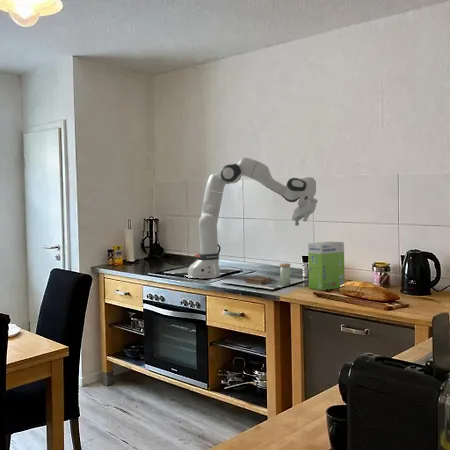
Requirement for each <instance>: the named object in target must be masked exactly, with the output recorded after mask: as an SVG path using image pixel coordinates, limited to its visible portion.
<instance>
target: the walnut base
mask: <svg viewBox="0 0 450 450" xmlns="http://www.w3.org/2000/svg"><path fill="white" fill-rule="evenodd" d="M271 281H272V279H271V277H266V276H259V275H256V276H251V277H246V278H245V283H246V284H253V285H259V284H261V285H264V284H268V283H271Z"/></svg>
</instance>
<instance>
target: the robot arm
mask: <svg viewBox="0 0 450 450" xmlns="http://www.w3.org/2000/svg"><path fill="white" fill-rule="evenodd" d="M242 176H243V177H248V178H250V179H252V180H254V181H256V182H258V183H259V184H261V185H262V186H264V187H266V188H267V189H269V190H271V191H273V192H274V193H276V194H278V195H280V196H281V197H282V198H284V199H285V201H287V203H288V202H289V203H295V202H297V207H296V208H294V211H293V213H292V216H291V219H292V221H294V222H295V223H294V225H295V226H296V227H298V226H299V224H300V223H299V221H300V220H302V219H303V222H307V221H308V219H309V217H310V215H312V214H313V213H314V212H315V210H316V207H317V204H318V202H319V200H318V199H317V198H315V196H316V193H317V189H316V182H317V181H315V180H316V179H315V178H313V177H311V176H306V177H304V178H297V177H292V178H290V179H288V180H287V182H286V185H285V184H282V183H281V182H279V181H277V180H275V179H274V178H273V176H272V174H271V171H270V169H269V166H267V165H266V164H265V163H263V162H260V161H259V160H258V161H257V160H255V159H253V158H249V157H241V158H240V159H239V160H238V162H237V163H231V164H226V165H224V166H223V167H222V168H221V170H220V173H217V172H215V173H211V174H210V175H209V176H208V178H207V179H208V180H207V183H206V186H205V190H204V194H203V195H204V196H203V201H202V208H201V213H200V217H199V219H198V235H199V253H198V254H197V253H195V254H194V257H195V258H196V259H197V260H195V261H194V262H192V263H191V264H190V265H189V267H188V271H187V274H188V275H185V274H184V277H185V276H186V277H188V278H187V279H189V278H199V279H215V278H217V277H220V276H222V274H221V270H220V265H219V261H220V253H218V250H219V247H218V244H219V243H218V242H219V241H218V221H219V216H220V211H221V206H222V205H221V204H222V200H223V196H224V195H223V194H224V189H225V186H226V185H228V184H229V185H230V184H235V183H238V182H239V181H240V180H241V178H242ZM298 199H299V200H298ZM297 200H298V201H297ZM186 277H185V278H186Z"/></svg>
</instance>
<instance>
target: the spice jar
mask: <svg viewBox="0 0 450 450" xmlns="http://www.w3.org/2000/svg"><path fill="white" fill-rule="evenodd" d="M279 277H280V278H279V279H280V281H279V284H280V286H281V287H289V285H290V286H291V264H290V263H285V262H284V263H279Z"/></svg>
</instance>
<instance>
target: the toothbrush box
mask: <svg viewBox="0 0 450 450" xmlns="http://www.w3.org/2000/svg"><path fill="white" fill-rule="evenodd" d="M344 243H345V242H342V241H322V242H309V243H308V247H307V248H308V249H307V250H308V251H307V253H308V289H311V290H318V291H327V289H328V290H333V289H335V290H336V289H340V288H339V287H340V285H342V284H344V283H345V284H346V282H345V281H346V279H345V275H346V274H345V244H344Z"/></svg>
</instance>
